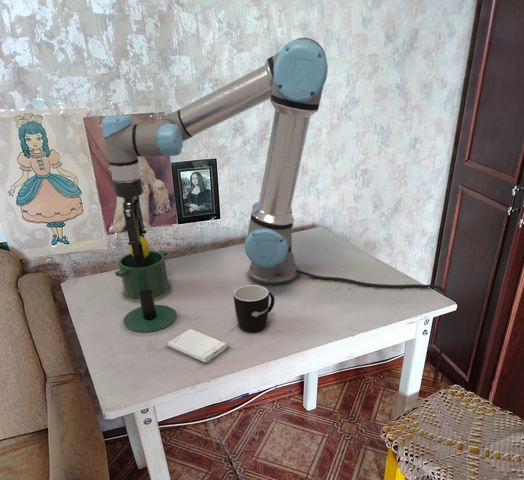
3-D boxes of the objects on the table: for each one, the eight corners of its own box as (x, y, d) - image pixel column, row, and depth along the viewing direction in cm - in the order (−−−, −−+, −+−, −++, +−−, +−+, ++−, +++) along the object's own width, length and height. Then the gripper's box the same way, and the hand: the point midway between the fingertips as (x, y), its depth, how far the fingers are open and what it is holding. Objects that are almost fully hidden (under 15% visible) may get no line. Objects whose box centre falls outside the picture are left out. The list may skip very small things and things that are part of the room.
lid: (187, 316, 137) (183, 288, 133) (149, 340, 128) (144, 310, 123) (151, 303, 145) (146, 276, 140) (113, 325, 135) (106, 296, 130)
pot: (183, 284, 154) (179, 253, 148) (139, 309, 142) (132, 276, 136) (154, 275, 161) (149, 244, 155) (109, 298, 148) (102, 265, 143)
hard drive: (167, 342, 124) (204, 358, 118) (190, 328, 129) (226, 342, 123) (168, 347, 125) (205, 363, 118) (191, 333, 130) (227, 347, 124)
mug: (250, 339, 127) (248, 304, 121) (229, 326, 132) (226, 292, 127) (285, 323, 133) (284, 289, 127) (263, 311, 139) (262, 278, 133)
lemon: (133, 257, 148) (128, 232, 143) (152, 256, 148) (148, 230, 144) (131, 265, 143) (125, 239, 139) (150, 264, 144) (145, 237, 139)
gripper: (118, 171, 140) (133, 248, 153) (106, 190, 125) (123, 274, 138) (145, 170, 141) (157, 247, 153) (136, 188, 125) (151, 272, 138)
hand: (141, 260), depth 146 cm, fingers closed on lemon, 5 cm apart
